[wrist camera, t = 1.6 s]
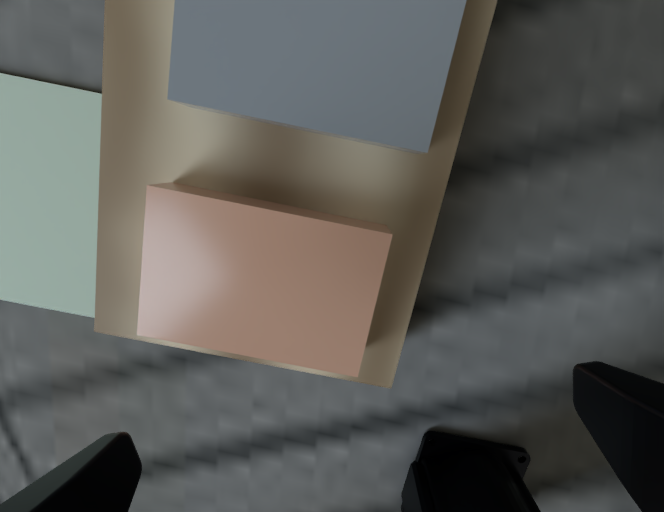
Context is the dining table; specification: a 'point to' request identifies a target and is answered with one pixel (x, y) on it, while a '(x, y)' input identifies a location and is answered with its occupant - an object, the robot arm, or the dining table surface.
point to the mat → (49, 194)
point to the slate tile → (318, 64)
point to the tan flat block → (263, 173)
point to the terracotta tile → (259, 277)
